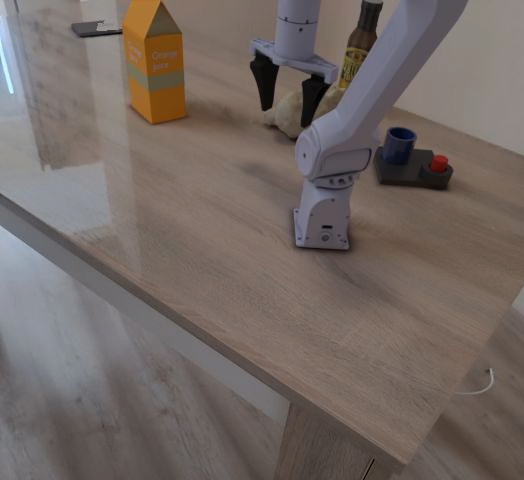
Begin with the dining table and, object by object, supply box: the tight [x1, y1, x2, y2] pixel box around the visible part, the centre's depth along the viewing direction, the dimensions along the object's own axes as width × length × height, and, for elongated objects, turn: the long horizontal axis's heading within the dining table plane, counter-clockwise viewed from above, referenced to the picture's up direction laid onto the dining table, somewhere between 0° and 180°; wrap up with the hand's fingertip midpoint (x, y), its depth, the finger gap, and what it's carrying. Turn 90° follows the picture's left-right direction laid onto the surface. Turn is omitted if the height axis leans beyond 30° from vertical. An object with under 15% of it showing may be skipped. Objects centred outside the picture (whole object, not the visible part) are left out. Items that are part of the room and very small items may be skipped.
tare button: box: [430, 154, 450, 172], centre depth 84 cm, size 3×3×2 cm
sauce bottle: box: [336, 0, 384, 90], centre depth 97 cm, size 6×6×20 cm
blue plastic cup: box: [381, 126, 418, 165], centre depth 88 cm, size 5×5×4 cm
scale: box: [372, 145, 455, 190], centre depth 88 cm, size 13×13×3 cm
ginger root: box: [263, 86, 346, 139], centre depth 93 cm, size 15×7×15 cm
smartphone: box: [70, 19, 123, 37], centre depth 123 cm, size 8×1×15 cm
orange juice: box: [122, 0, 187, 125], centre depth 89 cm, size 8×9×20 cm
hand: (286, 117), depth 76 cm, fingers open, 7 cm apart
